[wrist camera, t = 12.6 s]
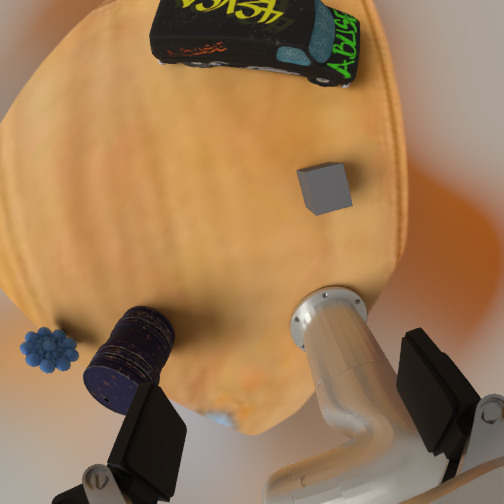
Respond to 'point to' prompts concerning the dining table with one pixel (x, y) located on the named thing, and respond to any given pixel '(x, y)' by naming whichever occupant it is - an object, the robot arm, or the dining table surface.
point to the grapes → (49, 350)
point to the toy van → (259, 37)
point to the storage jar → (130, 358)
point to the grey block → (325, 187)
